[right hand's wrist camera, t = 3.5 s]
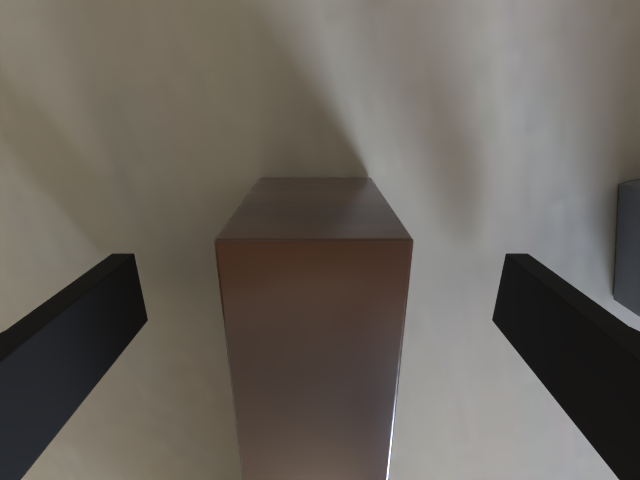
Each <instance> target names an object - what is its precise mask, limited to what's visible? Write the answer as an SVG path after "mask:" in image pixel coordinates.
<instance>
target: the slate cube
mask: <svg viewBox="0 0 640 480" xmlns="http://www.w3.org/2000/svg"><path fill="white" fill-rule="evenodd" d="M614 300H616V301H617V302H619V303H620V304H621V305H623V306H624V307H626V308H627V309H629V310H630V311H632V312H633V313H635V314H636V315H638V316H639V317H640V179H638V180H634V181H630V182H626V183H622V184H619V198H618V219H617V239H616V259H615V280H614Z"/></svg>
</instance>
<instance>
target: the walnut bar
mask: <svg viewBox="0 0 640 480" xmlns="http://www.w3.org/2000/svg"><path fill="white" fill-rule="evenodd" d="M214 243H215V252H216V260H217V268H218V277H219V285H220V293H221V302H222V310H223V318H224V327H225V335H226V343H227V352H228V360H229V368H230V377H231V385H232V393H233V402H234V410H235V418H236V427H237V435H238V443H239V452H240V460H241V468H242V477H243V480H388V476H389V467H390V457H391V448H392V439H393V429H394V420H395V410H396V401H397V391H398V382H399V373H400V363H401V354H402V344H403V335H404V325H405V316H406V306H407V297H408V288H409V278H410V269H411V259H412V250H413V239H412V238H411V236H410V235H409V233H408V232H407V230H406V229H405V227H404V226H403V224H402V223H401V221H400V220H399V219H398V217H397V216H396V214H395V213H394V211H393V210H392V208H391V207H390V205H389V204H388V202H387V201H386V200H385V198H384V197H383V195H382V194H381V192H380V191H379V189H378V188H377V186H376V185H375V184H374V182H373V181H372V179H371V178H261V179H259V181H258V182H257V183H256V185H255V186H254V187H253V189H252V190H251V191H250V193H249V194H248V196H247V197H246V198H245V200H244V201H243V202H242V204H241V205H240V206H239V208H238V209H237V210H236V212H235V213H234V215H233V216H232V217H231V219H230V220H229V221H228V223H227V224H226V225H225V227H224V228H223V230H222V231H221V232H220V234H219V235H218V236H217V238H216V239H215V242H214Z"/></svg>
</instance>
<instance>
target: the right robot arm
mask: <svg viewBox="0 0 640 480" xmlns="http://www.w3.org/2000/svg"><path fill="white" fill-rule="evenodd" d="M147 320H148V319H147V314H146V309H145V304H144V300H143V295H142V290H141V285H140V280H139V276H138V271H137V266H136V261H135V256H134V254H111V255H110V256H108V257H107V258H106V259H104V260H103V261H101V262H100V263H99V264H97V265H96V266H94V267H93V268H92V269H90V270H89V271H87V272H86V273H85V274H83V275H82V276H81V277H79V278H78V279H76V280H75V281H74V282H72V283H71V284H69V285H68V286H67V287H65V288H64V289H62V290H61V291H60V292H58V293H57V294H56V295H54V296H53V297H51V298H50V299H49V300H47V301H46V302H44V303H43V304H42V305H40V306H39V307H38V308H36V309H35V310H33V311H32V312H31V313H29V314H28V315H26V316H25V317H24V318H22V319H21V320H19V321H18V322H17V323H15V324H14V325H13V326H11V327H10V328H8V329H7V330H6V331H4V332H1V333H0V480H21V479H22V477H23V476H24V475H25V474H26V472H27V471H28V470H29V469H30V467H31V466H32V465H33V464H34V462H35V461H36V460H37V459H38V457H39V456H40V455H41V454H42V452H43V451H44V450H45V448H46V447H47V446H48V445H49V443H50V442H51V441H52V440H53V438H54V437H55V436H56V435H57V433H58V432H59V431H60V430H61V428H62V427H63V426H64V425H65V423H66V422H67V421H68V420H69V418H70V417H71V416H72V415H73V413H74V412H75V411H76V410H77V408H78V407H79V406H80V405H81V403H82V402H83V401H84V400H85V398H86V397H87V396H88V395H89V393H90V392H91V391H92V390H93V388H94V387H95V386H96V384H97V383H98V382H99V381H100V379H101V378H102V377H103V376H104V374H105V373H106V372H107V371H108V369H109V368H110V367H111V366H112V364H113V363H114V362H115V361H116V359H117V358H118V357H119V356H120V354H121V353H122V352H123V351H124V349H125V348H126V347H127V346H128V344H129V343H130V342H131V341H132V339H133V338H134V337H135V336H136V334H137V333H138V332H139V331H140V329H141V328H142V327H143V326H144V324H145V323H146V322H147ZM492 320H493V322H494V323H495V324H496V326H497V327H498V328H499V329H500V331H501V332H502V333H503V334H504V336H505V337H506V338H507V339H508V341H509V342H510V343H511V344H512V346H513V347H514V348H515V349H516V351H517V352H518V353H519V354H520V356H521V357H522V358H523V359H524V361H525V362H526V363H527V364H528V366H529V367H530V368H531V369H532V371H533V372H534V373H535V374H536V376H537V377H538V378H539V379H540V381H541V382H542V383H543V384H544V386H545V387H546V388H547V390H548V391H549V392H550V393H551V395H552V396H553V397H554V398H555V400H556V401H557V402H558V403H559V405H560V406H561V407H562V408H563V410H564V411H565V412H566V413H567V415H568V416H569V417H570V418H571V420H572V421H573V422H574V423H575V425H576V426H577V427H578V428H579V430H580V431H581V432H582V433H583V435H584V436H585V437H586V438H587V440H588V441H589V442H590V443H591V445H592V446H593V447H594V448H595V450H596V451H597V452H598V454H599V455H600V456H601V457H602V459H603V460H604V461H605V462H606V464H607V465H608V466H609V467H610V469H611V470H612V471H613V472H614V474H615V475H616V476H617V477H618V479H619V480H640V331H638V330H636V329H633V328H631V327H629V326H627V325H626V324H625V323H623V322H622V321H621V320H619V319H618V318H616V317H615V316H614V315H612V314H611V313H609V312H608V311H607V310H605V309H604V308H602V307H601V306H600V305H598V304H597V303H596V302H594V301H593V300H591V299H590V298H589V297H587V296H586V295H584V294H583V293H582V292H580V291H579V290H578V289H576V288H575V287H573V286H572V285H571V284H569V283H568V282H566V281H565V280H564V279H562V278H561V277H559V276H558V275H557V274H555V273H554V272H553V271H551V270H550V269H548V268H547V267H546V266H544V265H543V264H541V263H540V262H539V261H537V260H536V259H534V258H533V257H532V256H530V255H529V254H506V256H505V261H504V266H503V271H502V276H501V280H500V285H499V290H498V295H497V300H496V304H495V309H494V314H493V319H492Z"/></svg>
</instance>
